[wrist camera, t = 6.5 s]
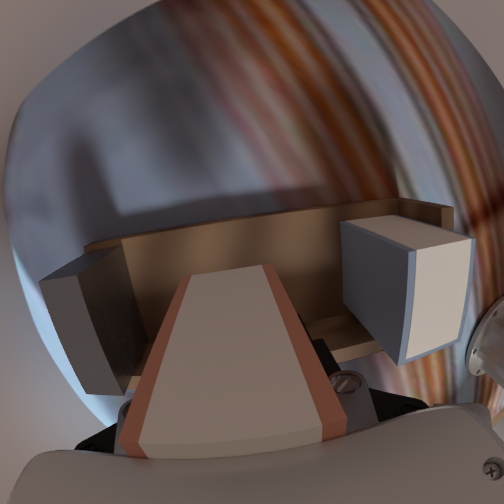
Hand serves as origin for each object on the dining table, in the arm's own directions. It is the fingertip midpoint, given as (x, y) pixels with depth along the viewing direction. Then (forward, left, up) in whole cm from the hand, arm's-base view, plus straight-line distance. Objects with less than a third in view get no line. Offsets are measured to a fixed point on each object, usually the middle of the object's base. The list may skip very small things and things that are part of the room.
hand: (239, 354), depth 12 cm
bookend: (+9, 0, -9) cm, 13 cm away
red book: (0, 0, -2) cm, 2 cm away
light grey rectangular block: (-11, 0, -9) cm, 14 cm away
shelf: (-2, +1, -11) cm, 11 cm away
